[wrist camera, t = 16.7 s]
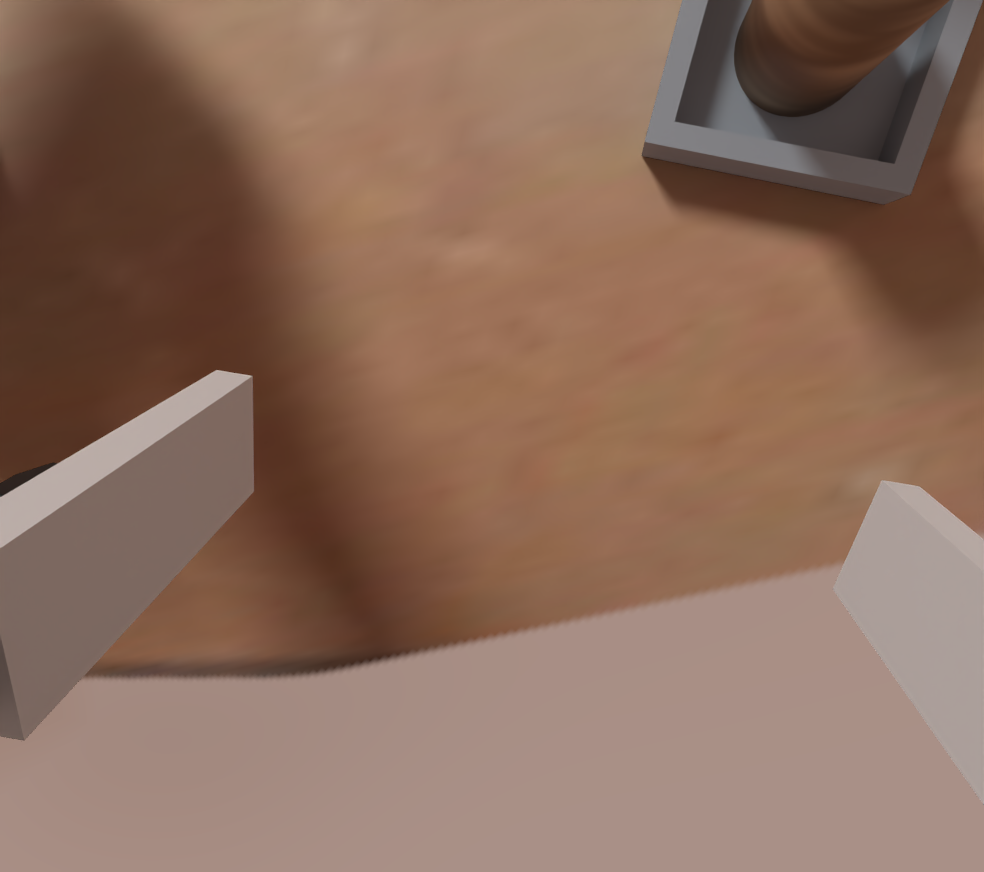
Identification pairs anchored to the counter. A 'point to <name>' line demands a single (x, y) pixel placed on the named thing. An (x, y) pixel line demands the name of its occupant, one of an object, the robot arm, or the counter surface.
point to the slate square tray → (816, 137)
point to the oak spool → (818, 48)
